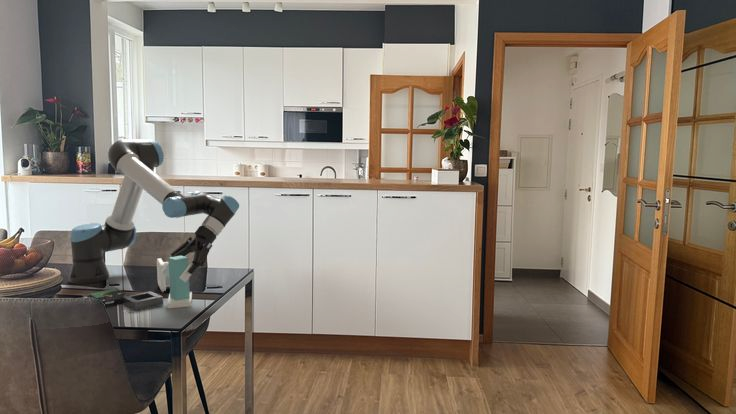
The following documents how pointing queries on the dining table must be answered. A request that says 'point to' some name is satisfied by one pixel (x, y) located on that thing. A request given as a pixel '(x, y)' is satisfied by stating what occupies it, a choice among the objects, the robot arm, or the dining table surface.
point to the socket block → (142, 300)
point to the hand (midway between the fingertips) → (172, 277)
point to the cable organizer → (162, 275)
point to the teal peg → (178, 286)
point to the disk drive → (110, 296)
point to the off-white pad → (179, 302)
